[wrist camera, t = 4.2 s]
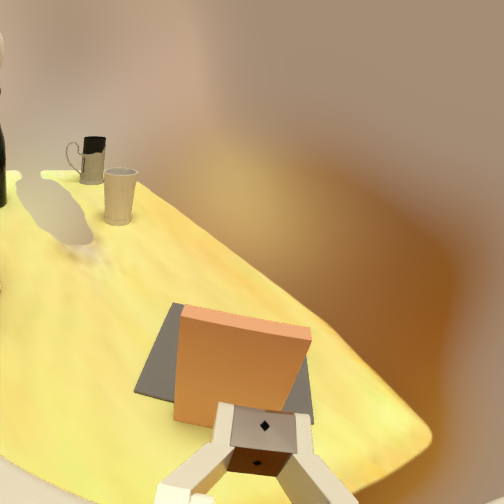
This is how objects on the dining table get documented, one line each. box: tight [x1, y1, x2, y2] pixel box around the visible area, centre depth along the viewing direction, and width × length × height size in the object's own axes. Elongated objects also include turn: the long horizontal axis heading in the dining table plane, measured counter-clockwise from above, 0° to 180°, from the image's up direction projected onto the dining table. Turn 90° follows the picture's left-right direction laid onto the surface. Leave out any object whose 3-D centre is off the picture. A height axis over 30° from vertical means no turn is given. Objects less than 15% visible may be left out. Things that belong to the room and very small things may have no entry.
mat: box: [134, 303, 314, 424], centre depth 39 cm, size 18×20×1 cm
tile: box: [173, 304, 312, 428], centre depth 27 cm, size 2×10×14 cm, turn 87°
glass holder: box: [66, 136, 106, 185], centre depth 91 cm, size 9×14×15 cm, turn 130°
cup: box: [104, 168, 138, 226], centre depth 68 cm, size 8×8×12 cm
